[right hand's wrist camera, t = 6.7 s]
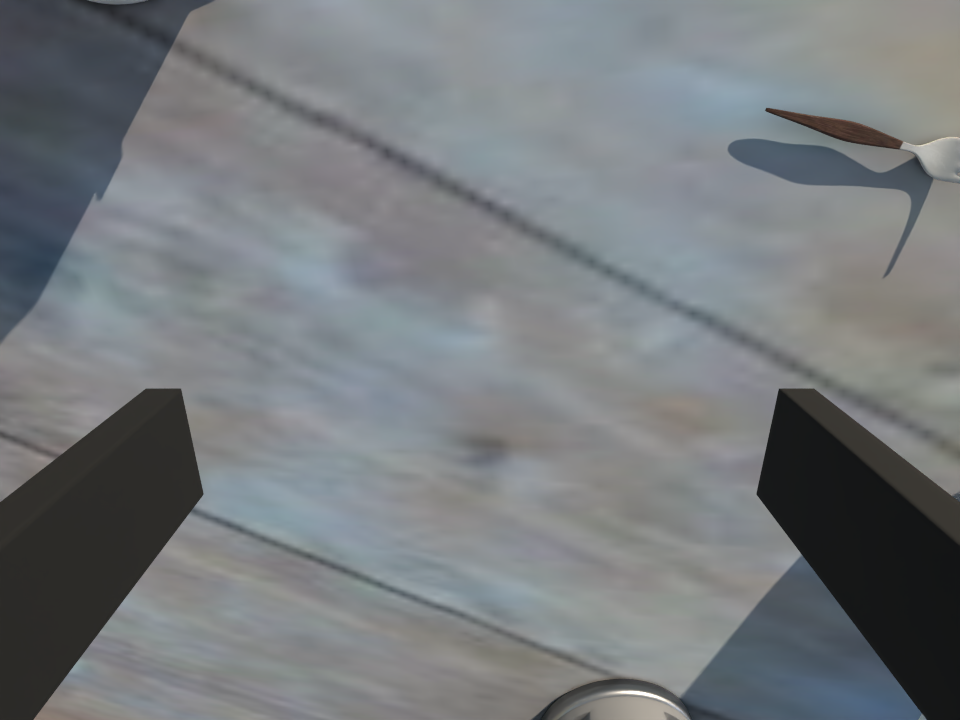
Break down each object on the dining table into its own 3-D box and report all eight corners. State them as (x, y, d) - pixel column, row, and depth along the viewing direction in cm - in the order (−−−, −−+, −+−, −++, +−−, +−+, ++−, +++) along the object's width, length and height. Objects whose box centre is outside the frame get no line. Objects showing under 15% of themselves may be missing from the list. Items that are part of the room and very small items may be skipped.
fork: (770, 86, 35) (786, 84, 34) (1002, 150, 37) (1030, 151, 35) (753, 131, 36) (768, 131, 34) (980, 191, 38) (1006, 194, 36)
